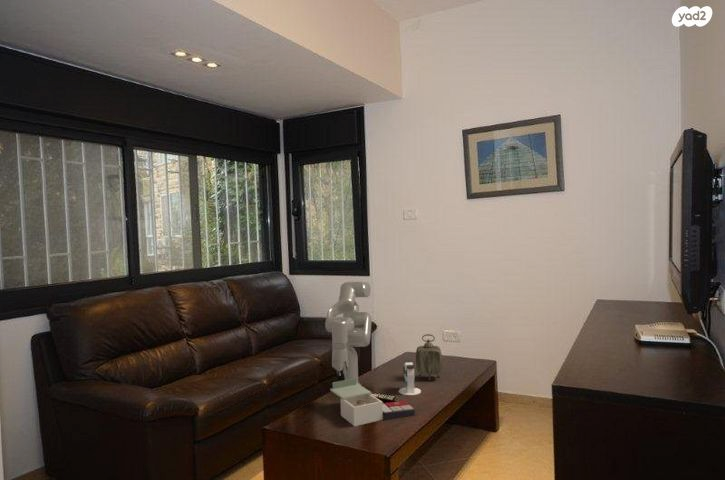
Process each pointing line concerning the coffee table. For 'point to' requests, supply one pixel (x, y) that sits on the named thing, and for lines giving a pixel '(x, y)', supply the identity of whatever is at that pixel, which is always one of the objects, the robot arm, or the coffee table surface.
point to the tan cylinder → (361, 402)
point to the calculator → (397, 410)
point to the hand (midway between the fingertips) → (341, 383)
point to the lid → (348, 389)
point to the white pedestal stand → (409, 379)
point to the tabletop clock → (428, 359)
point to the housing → (362, 410)
